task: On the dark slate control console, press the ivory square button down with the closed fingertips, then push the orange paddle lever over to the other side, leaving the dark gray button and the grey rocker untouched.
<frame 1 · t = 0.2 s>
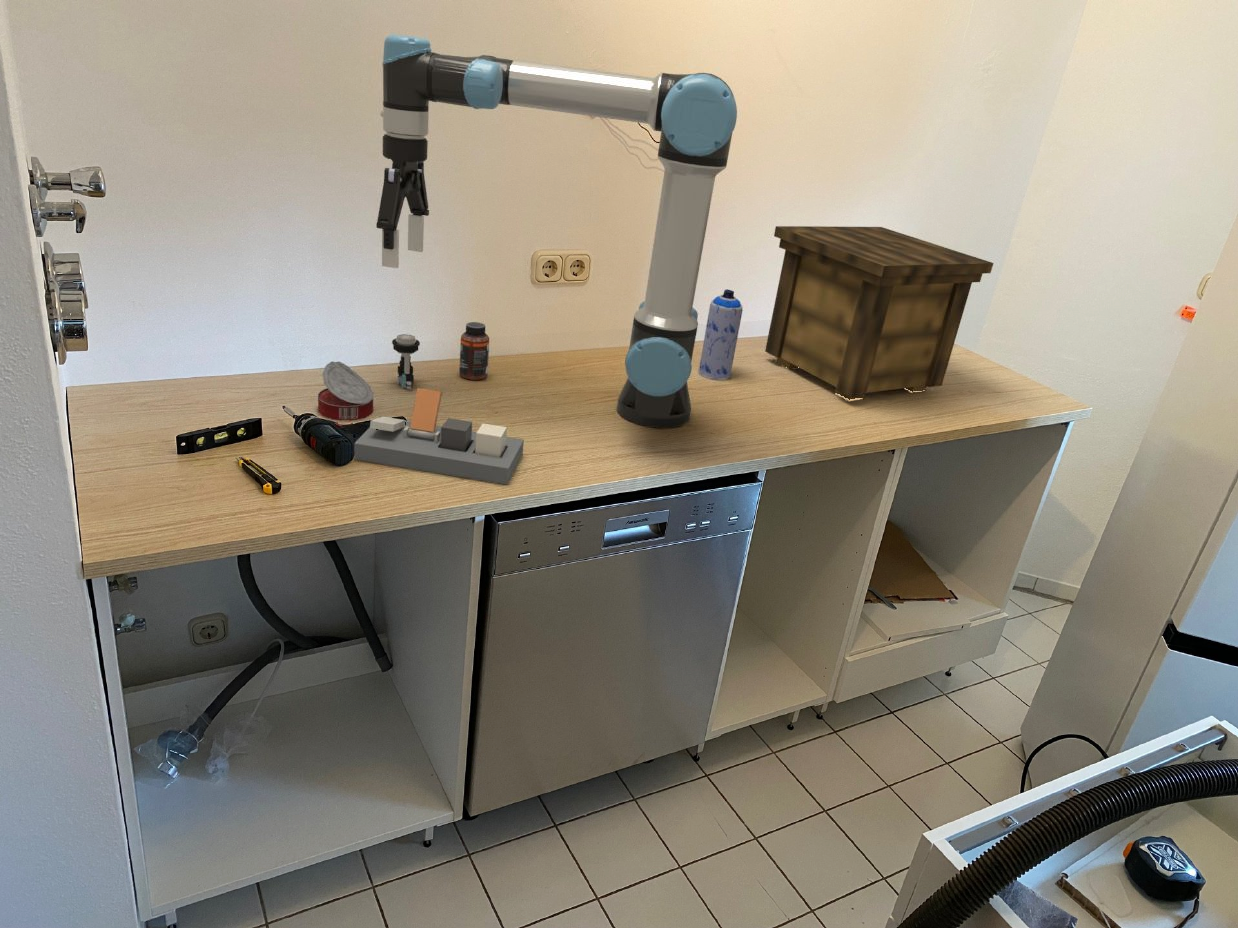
hand: (403, 258, 164), 28 cm above the worktop, fingers open, 13 cm apart
paddle lever: (425, 413, 155), point 7 cm above the worktop, hinge at 30.0°
canned food: (346, 411, 169), on the worktop
aerosol can: (714, 375, 212), on the worktop
supplement bottle: (473, 376, 192), on the worktop
push button: (405, 386, 183), on the worktop
rocker: (387, 423, 155), point 5 cm above the worktop, hinge at 15.0°
console: (441, 457, 156), on the worktop
ivory button: (491, 440, 154), point 5 cm above the worktop, slide at 0.0 cm
dark gray button: (456, 435, 154), point 5 cm above the worktop, slide at 0.0 cm
crate: (849, 378, 223), on the worktop
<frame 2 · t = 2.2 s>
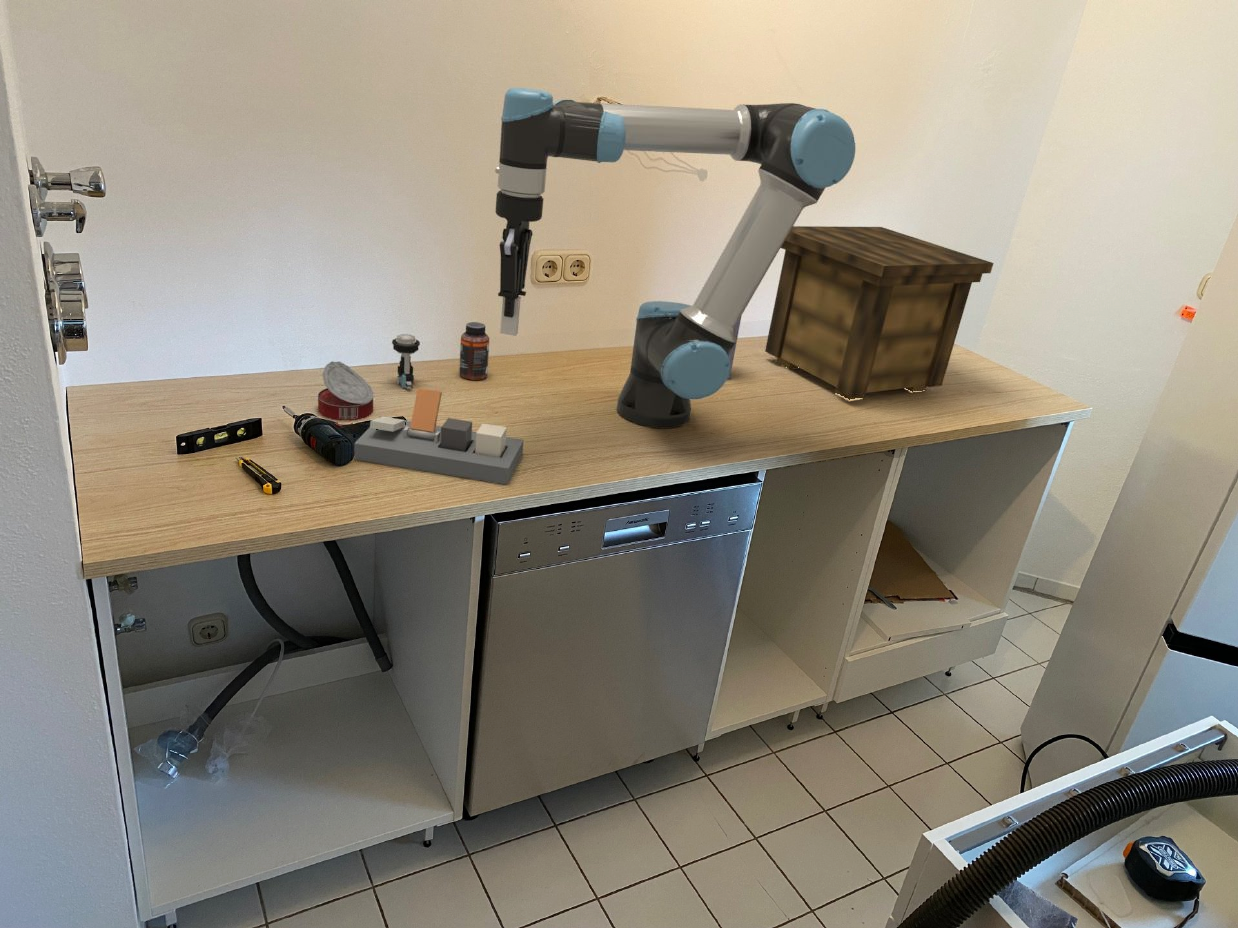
hand: (508, 333, 156), 21 cm above the worktop, fingers closed
nothing on the worktop moved.
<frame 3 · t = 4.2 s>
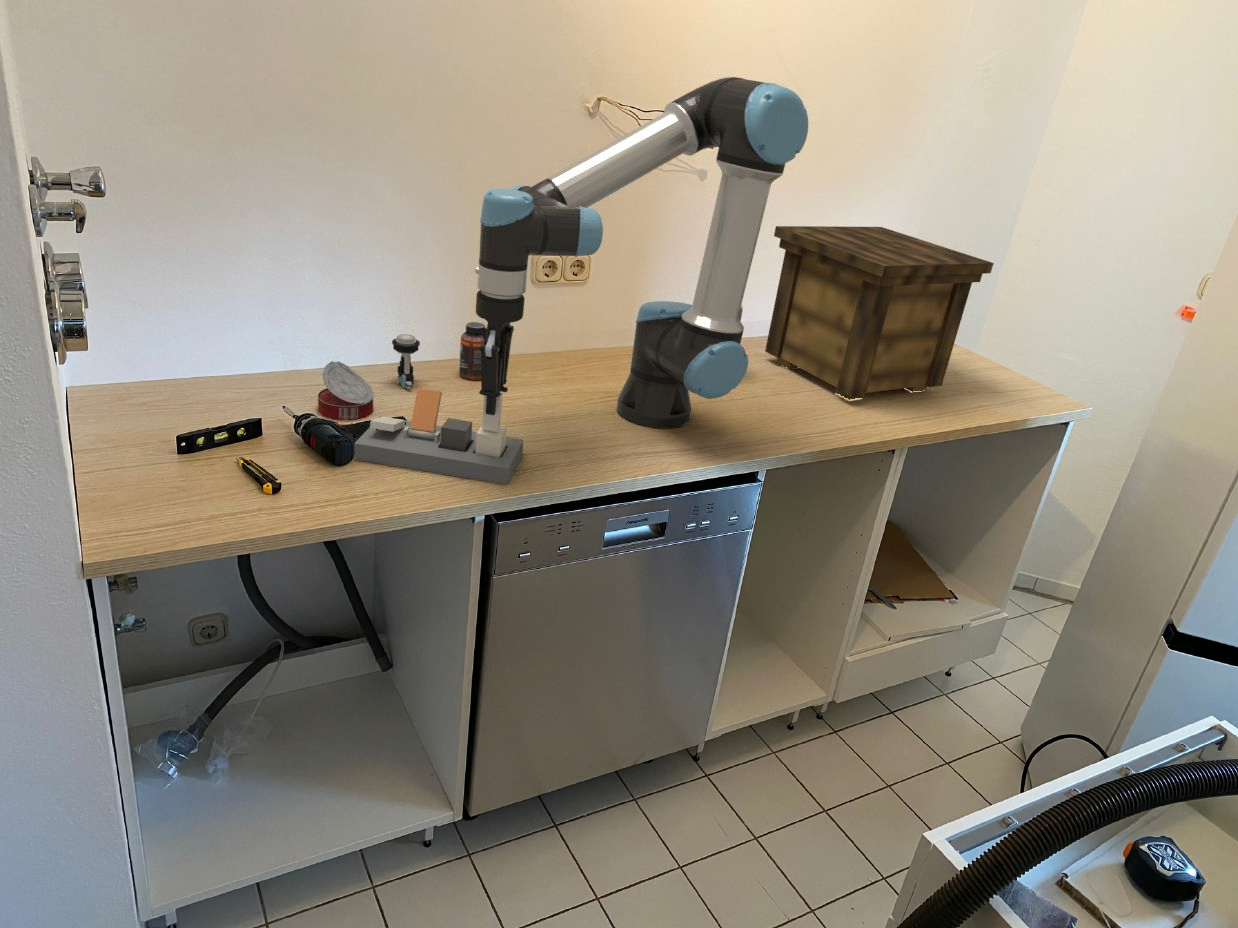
hand: (490, 429, 153), 7 cm above the worktop, fingers closed
ivory button: (491, 441, 154), point 5 cm above the worktop, slide at 0.1 cm, touching gripper
everything else where it was.
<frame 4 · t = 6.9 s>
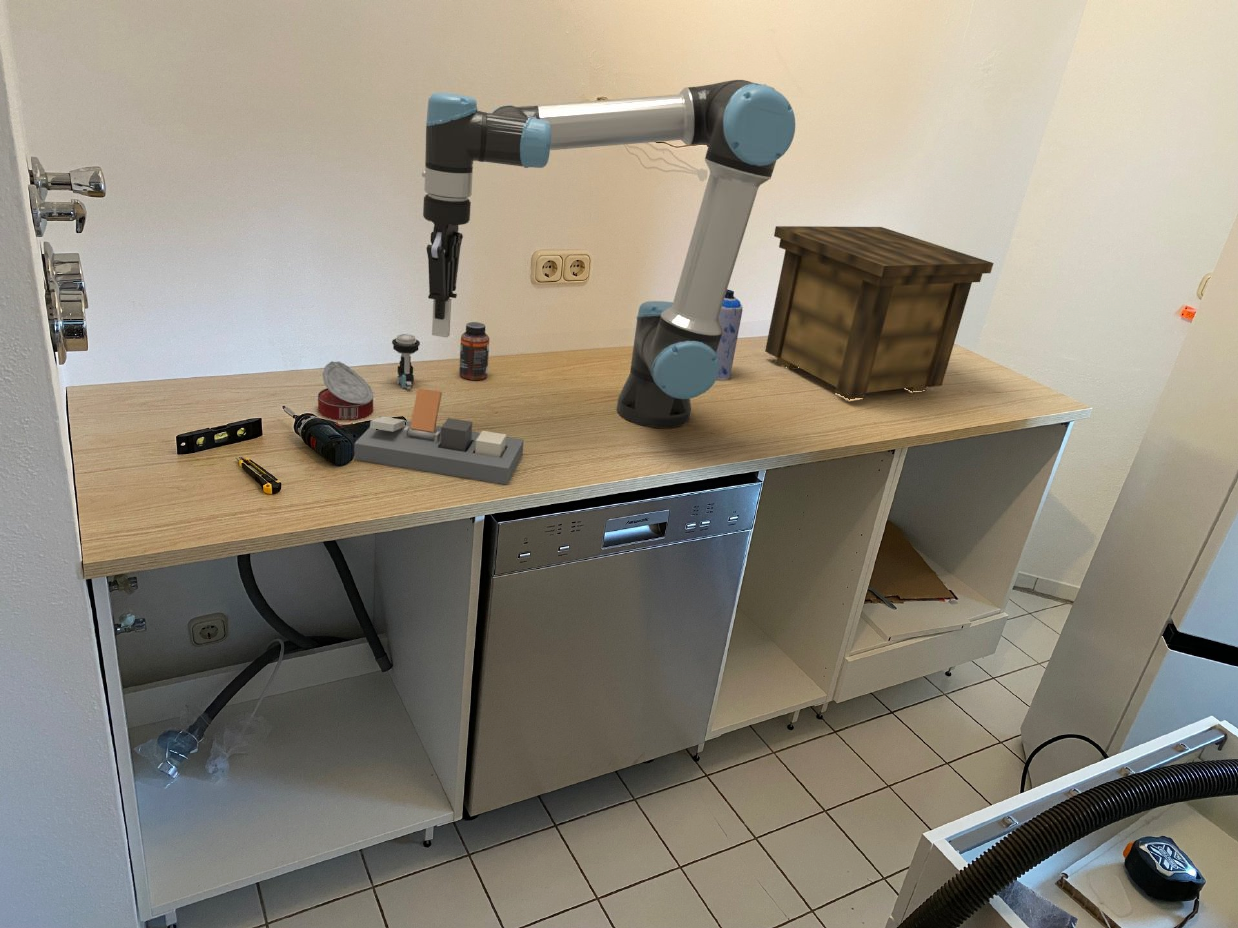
hand: (440, 335, 157), 18 cm above the worktop, fingers closed
ivory button: (490, 448, 154), point 3 cm above the worktop, slide at 1.4 cm
everything else where it was.
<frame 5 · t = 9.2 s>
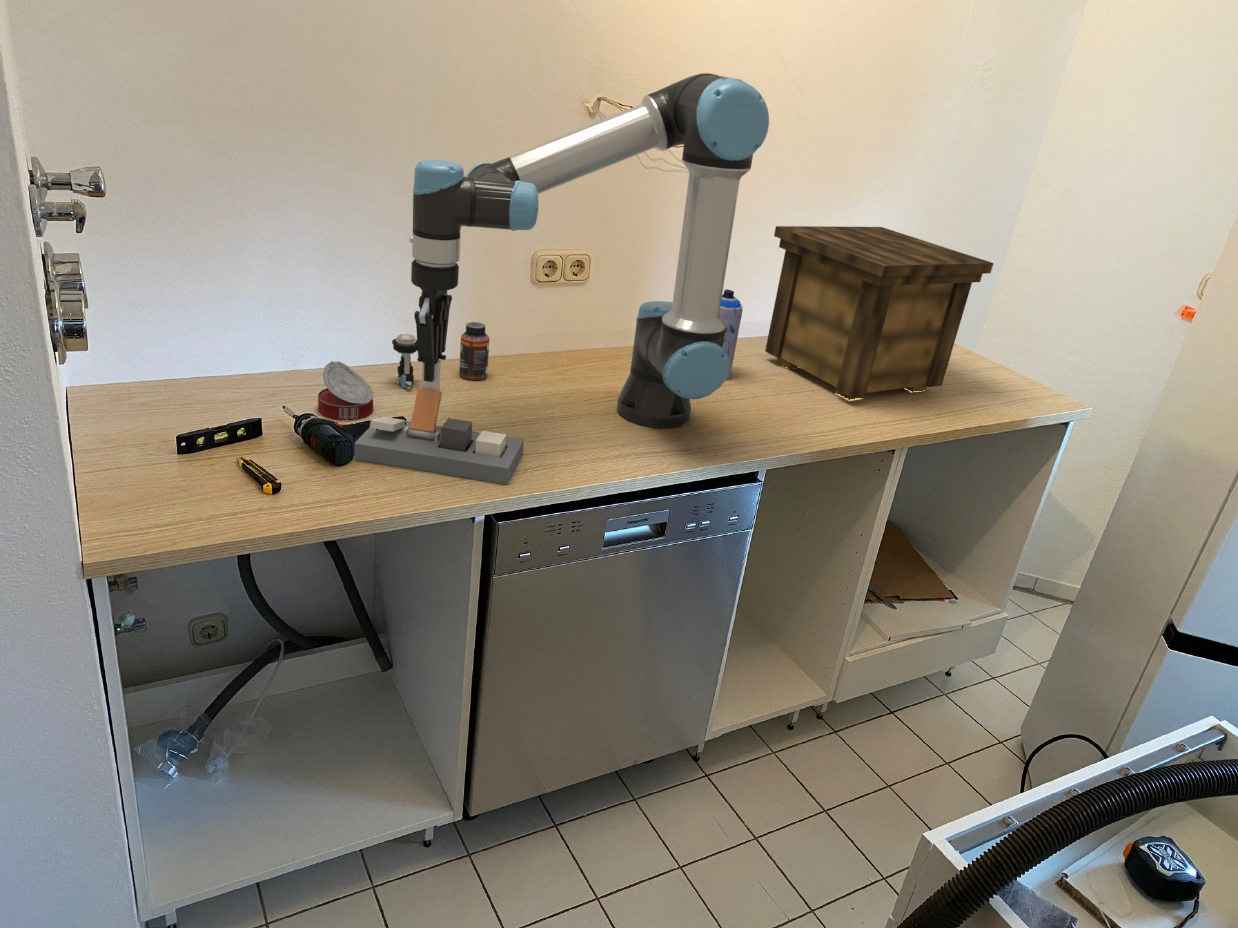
hand: (430, 396, 157), 9 cm above the worktop, fingers closed
paddle lever: (425, 413, 155), point 7 cm above the worktop, hinge at 30.0°, touching gripper
everything else where it was.
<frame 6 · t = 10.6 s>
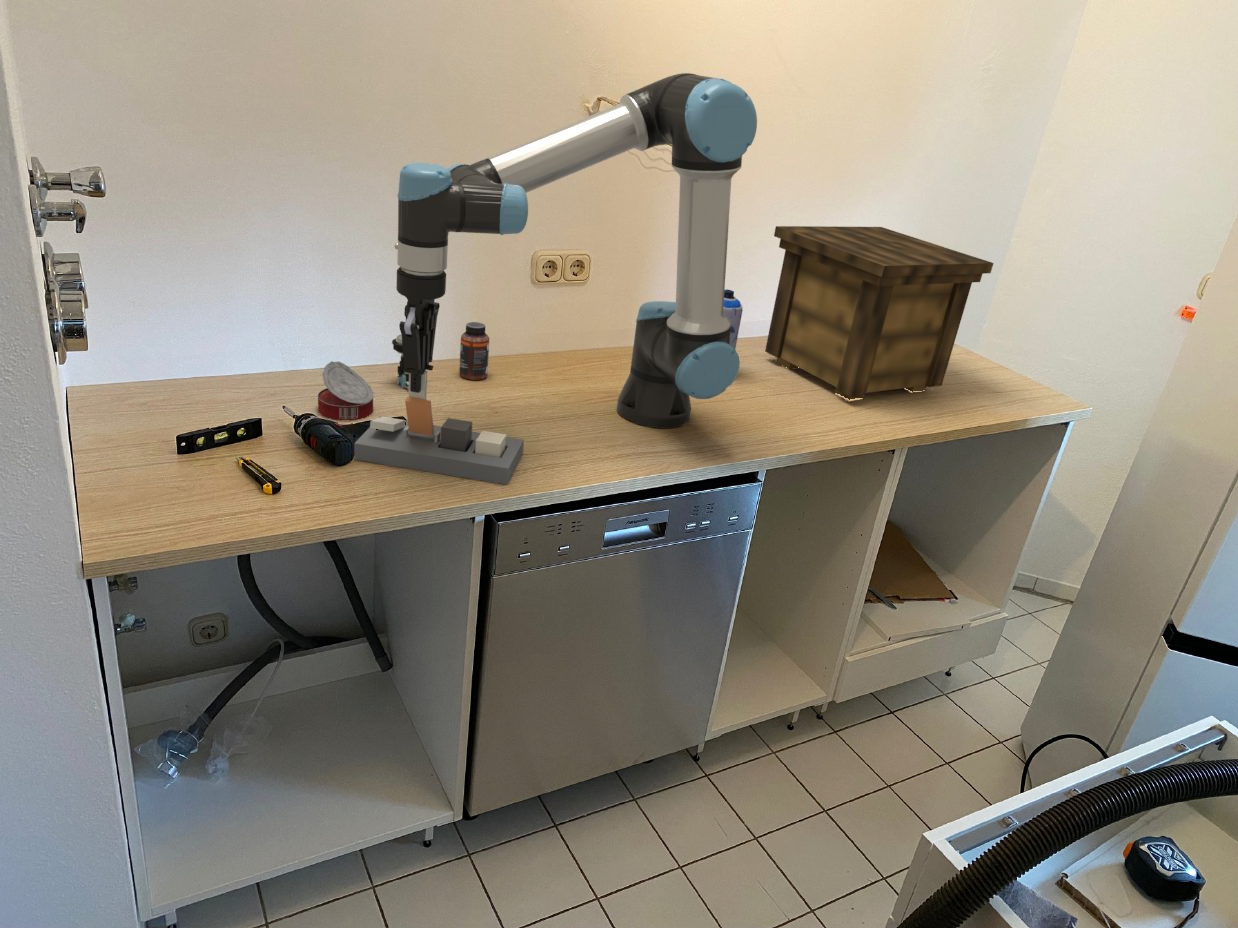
hand: (417, 407, 151), 9 cm above the worktop, fingers closed
paddle lever: (420, 419, 152), point 7 cm above the worktop, hinge at -20.7°, touching gripper
everything else where it was.
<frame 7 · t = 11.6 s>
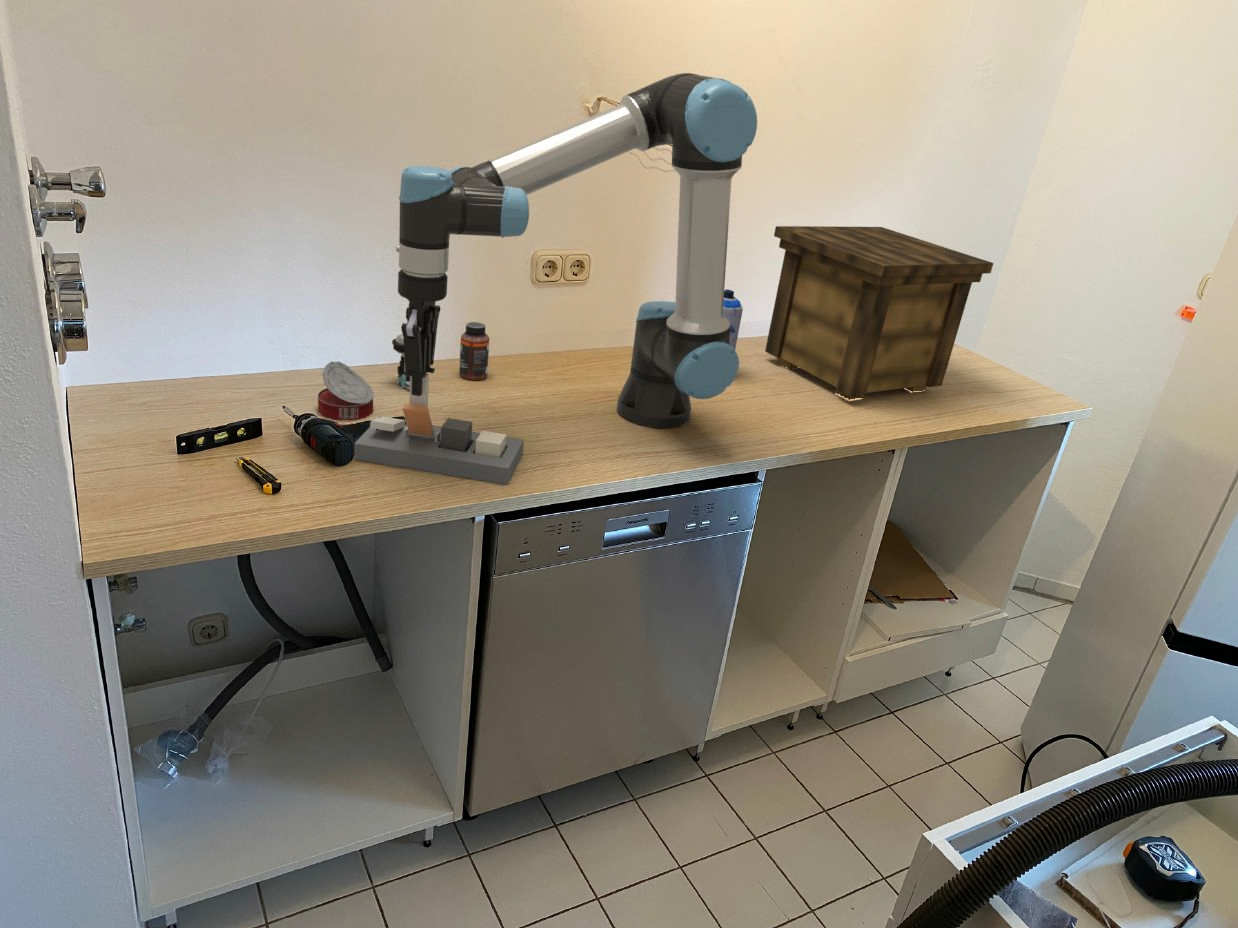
hand: (418, 410, 151), 9 cm above the worktop, fingers closed
paddle lever: (418, 422, 152), point 7 cm above the worktop, hinge at -32.4°
everything else where it was.
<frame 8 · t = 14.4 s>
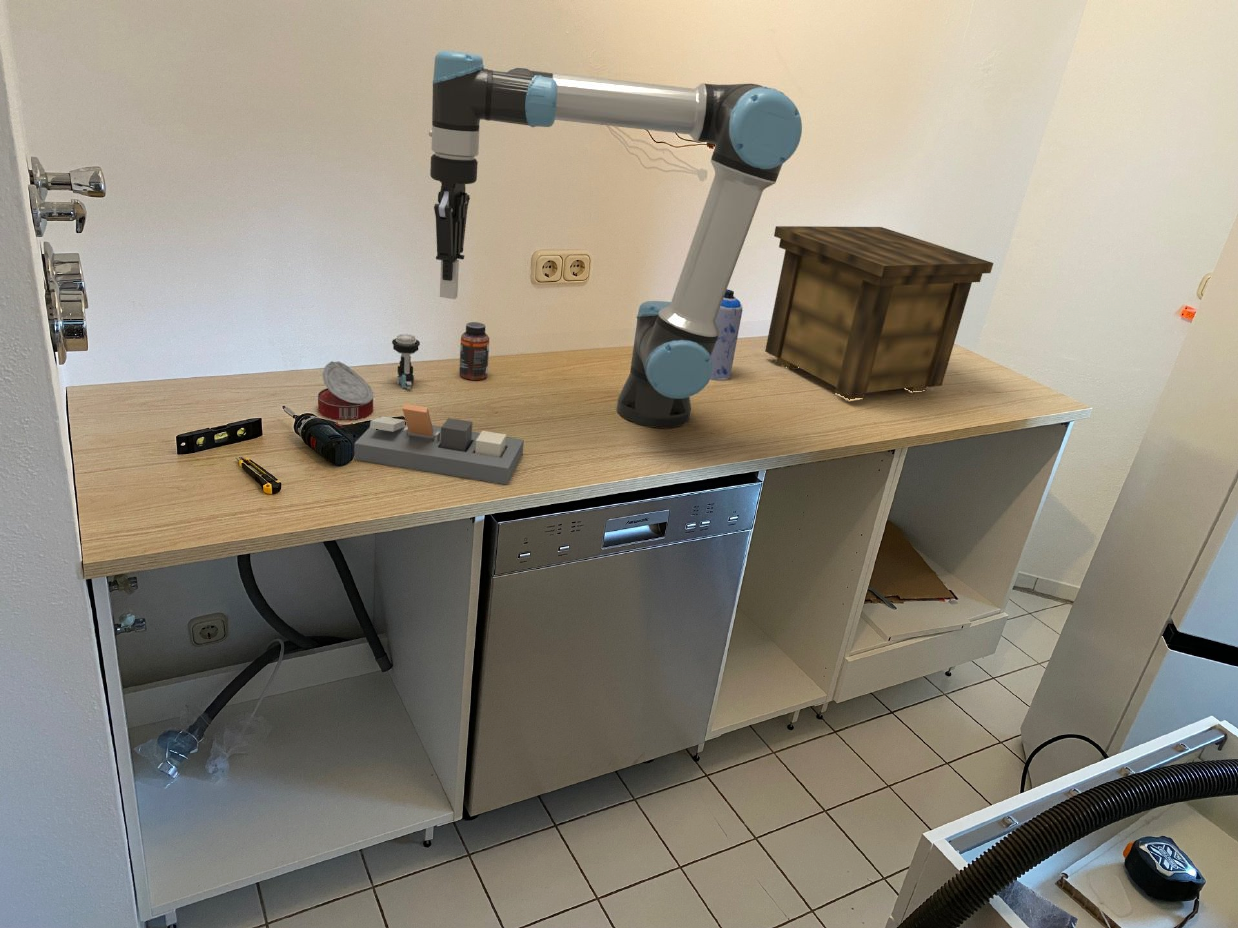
hand: (448, 297, 157), 24 cm above the worktop, fingers closed
paddle lever: (418, 422, 152), point 7 cm above the worktop, hinge at -32.7°
everything else where it was.
at the end: ivory button slide at 1.4 cm; paddle lever at -33° (first picture: +30°); dark gray button slide at 0.0 cm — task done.
